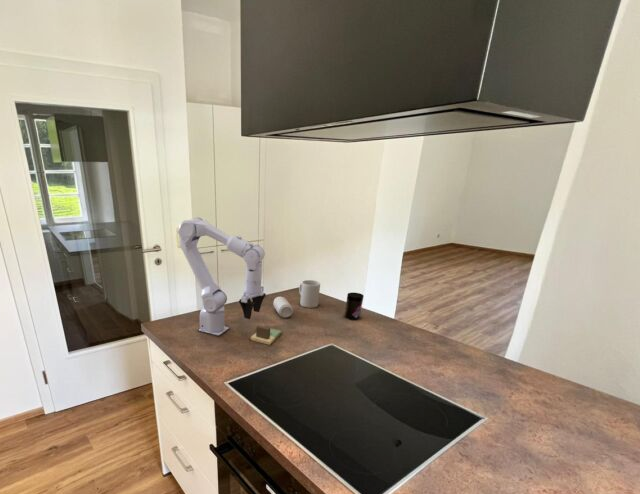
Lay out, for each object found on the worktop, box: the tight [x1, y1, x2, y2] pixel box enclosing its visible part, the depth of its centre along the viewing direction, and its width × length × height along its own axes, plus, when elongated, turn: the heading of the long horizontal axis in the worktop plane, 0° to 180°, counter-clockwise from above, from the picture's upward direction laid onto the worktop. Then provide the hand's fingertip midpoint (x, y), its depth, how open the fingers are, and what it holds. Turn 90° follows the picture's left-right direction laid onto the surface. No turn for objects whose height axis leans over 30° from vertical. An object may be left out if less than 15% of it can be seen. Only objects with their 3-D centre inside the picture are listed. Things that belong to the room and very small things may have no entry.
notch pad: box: [269, 327, 282, 340], centre depth 141 cm, size 8×6×1 cm
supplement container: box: [344, 292, 364, 321], centre depth 157 cm, size 7×7×10 cm
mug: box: [298, 279, 321, 309], centre depth 171 cm, size 12×8×11 cm
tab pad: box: [250, 324, 276, 346], centre depth 137 cm, size 8×8×5 cm
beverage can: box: [272, 295, 294, 319], centre depth 160 cm, size 6×6×12 cm
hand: (252, 314), depth 135 cm, fingers open, 7 cm apart
